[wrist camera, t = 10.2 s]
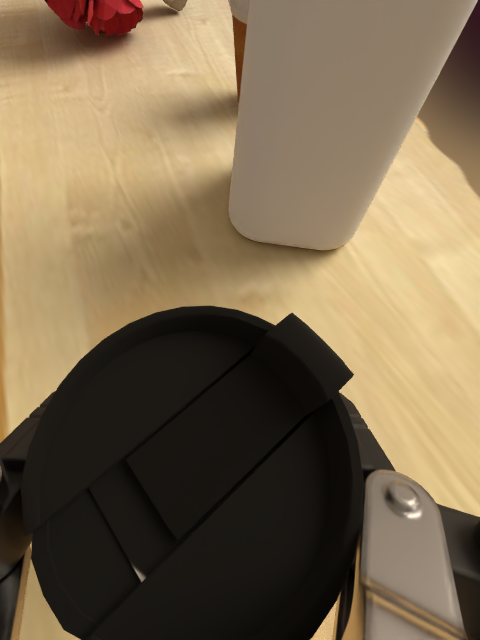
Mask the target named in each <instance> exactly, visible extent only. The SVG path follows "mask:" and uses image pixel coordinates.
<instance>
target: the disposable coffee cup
mask: <svg viewBox="0 0 480 640" xmlns="http://www.w3.org/2000/svg"><path fill="white" fill-rule="evenodd" d="M249 1H250V0H229V4H230V7H231V12H232V17H233V32H234V47H235V62H236V77H237V92H238V103H239V99H240V90H241V80H242V70H243V60H244V50H245V40H246V30H247V20H248V11H249Z"/></svg>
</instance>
